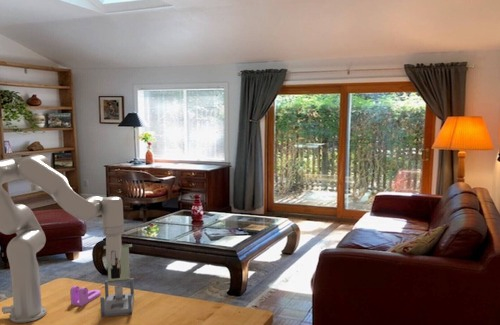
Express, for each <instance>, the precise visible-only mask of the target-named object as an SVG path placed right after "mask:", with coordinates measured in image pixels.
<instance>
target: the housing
mask: <svg viewBox="0 0 500 325" xmlns="http://www.w3.org/2000/svg"><path fill="white" fill-rule="evenodd" d="M129 284H130V292H126V293H124V292H123V289H124V288H123V286H122V285H115V286H114V293H113V294H109V283H108V279H107V280H104V294H105V295H104V296H100V298H99V301H100V315H101V318H103V317H104V318H106V317H114V316H116V317H117V316H125V315H132V314H133V309H134V308H133V307H134V301H135V290H134V278H131V277H130V282H129Z"/></svg>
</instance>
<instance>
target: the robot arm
mask: <svg viewBox="0 0 500 325" xmlns="http://www.w3.org/2000/svg"><path fill="white" fill-rule="evenodd" d="M23 179H24V180H26V181H28V182H29V183H31V184H32V185H33V186H35V187H37V188H39V189H41V190H42V191H43V192H45V193H47V194H48V195H50V197H51V198H52V199H53V200H54V202H56V203H57V205H58V206H59V207H60V208H62V210H64V211H65V212H66V213H68V214H69V215H71V216H73V217H74V218H76V219H77V220H80V221H83V222H90V221H93V220H95V219H96V218H97V217H99V216H101V215H102V218H101V219H102V231H103V236H105V246H106V249H105V256H106V257H105V258H106V259H105V261H106V263H108V261H110V258H111V278H112V279H116V278H120V274H121V265H120V268H119V262H120V258H121V250H122V245H123V244H122V235H123V234H125V224H124V222H125V221H124V206H123V199H122V198H121V196H108V197H106V196H96V195H95V196H89V197H87V198H84V197H83V196H81V195H79V194H78V193H76V192H75V190H73V188H72V187H71V186H70V184H69V180H68V178H67V176H65V174H62V173H61V172H59V171H58V170H56V169H55V168H53V167H52V163H51V161H50V160H49V158H48V157H46V156H45V155H41V154H34V155H28V156H20V157H13V158H11V157H10V158H6V159H1V160H0V233H1V234H4V235H12V234H16V236H15V237H13V238H12V239H10V241H9V242H8V243H7V246H6V257H7V259H8V263H9V264H8V265H9V269H10V278H11V279H10V280H11V290H12V304H11V305H9V306H8V305H6V306H5V305H4V306H2V307H1V312H2V313H3V314H4V315H5V314H6V315H7V314H9V320H10V322H13V323H17V324H18V323H19V324H23V323H24V324H25V323H29V322H34V321H37V320H39V319H42V317H44V316H45V315H46V314H47V308H46V307H45V306H44V305H43V304H42V291H41V278H40V277H41V276H40V267H39V266H40V265H39V262H38V260H37V253H38V252H40V251H41V250H42V249H43V248H44V247H45V244H46V241H47V238H46V234H45V231H44V230H43V228H42V227H41V225H40V222H39V221H38V219H37V217H36V215H35V213H34V212H33V210H32V209H31V208H30V207H29V206H27V205H25V204H22V203H15V202H14V201H13V199H12V198H11V195H10V194H9V192H7V190H6V189H5V188H4V187H3V184H6V183H9V182H11V181H16V180H17V181H18V180H23ZM116 262H117V263H116Z"/></svg>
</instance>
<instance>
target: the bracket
mask: <svg viewBox="0 0 500 325" xmlns="http://www.w3.org/2000/svg"><path fill="white" fill-rule="evenodd" d="M69 292H70V293H69V294H70V296H69V297H70V305H74V306H79V307H83V306H85V305H87V304H88V303H89V302H91V301H93V300H95V299H96V298H98V297H99V296H100V297H101V294H102V292H101V290H100V289H91V290H89V288H87V287H85V286H82V287H80V286H78V285H73V286H71V288H70V291H69Z"/></svg>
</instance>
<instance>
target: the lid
mask: <svg viewBox="0 0 500 325" xmlns="http://www.w3.org/2000/svg"><path fill="white" fill-rule="evenodd" d="M132 247H133V244H132V243H131V244H122V250H121V258H120V265H121V274H120V278H116V279H112V278H111V258H110V261H108V262H107V278H108V279H107V280H108V284H118V283H130V278H131V277H130V276H131V274H130V248H132ZM103 250H106V245H104V246H103Z"/></svg>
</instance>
